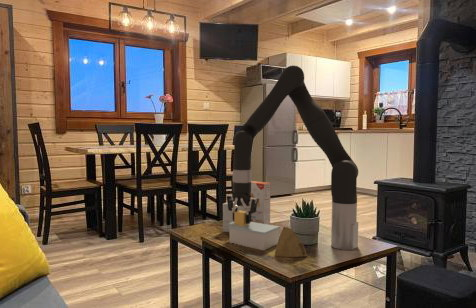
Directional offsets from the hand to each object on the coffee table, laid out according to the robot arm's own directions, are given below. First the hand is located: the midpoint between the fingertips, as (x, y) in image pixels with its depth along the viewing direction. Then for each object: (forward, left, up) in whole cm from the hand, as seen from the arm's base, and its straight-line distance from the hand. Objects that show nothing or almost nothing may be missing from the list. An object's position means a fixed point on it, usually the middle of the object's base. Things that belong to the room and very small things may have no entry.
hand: (241, 222), depth 151 cm
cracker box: (+10, -25, -8) cm, 28 cm away
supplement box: (+12, -11, -8) cm, 18 cm away
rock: (-25, +5, -8) cm, 27 cm away
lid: (-5, 0, -3) cm, 5 cm away
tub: (-6, 0, -7) cm, 10 cm away
